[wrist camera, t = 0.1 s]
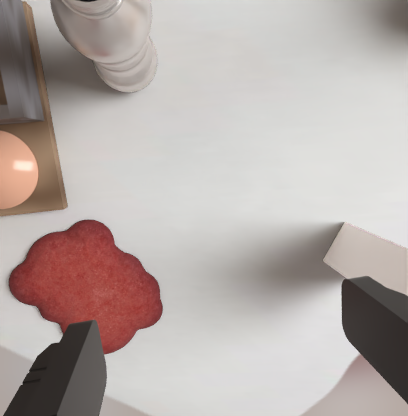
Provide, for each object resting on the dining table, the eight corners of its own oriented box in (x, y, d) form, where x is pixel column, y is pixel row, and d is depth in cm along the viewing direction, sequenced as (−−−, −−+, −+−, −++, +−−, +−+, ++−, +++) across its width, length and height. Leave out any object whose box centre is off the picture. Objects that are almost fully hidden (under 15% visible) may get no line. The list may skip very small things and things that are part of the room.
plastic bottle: (118, 106, 36) (63, 62, 16) (85, 47, 34) (-19, -78, 15) (169, 79, 36) (174, 2, 17) (138, 19, 34) (103, -143, 15)
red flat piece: (-4, 275, 38) (-13, 282, 37) (83, 200, 38) (79, 203, 36) (100, 367, 42) (97, 377, 40) (180, 299, 42) (180, 307, 40)
